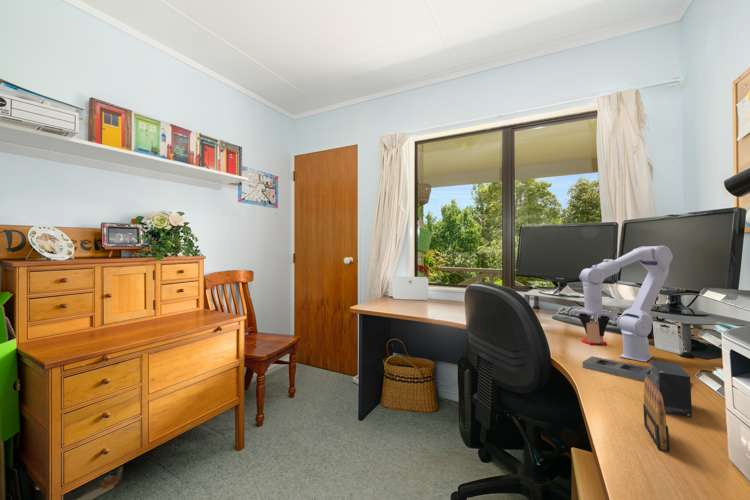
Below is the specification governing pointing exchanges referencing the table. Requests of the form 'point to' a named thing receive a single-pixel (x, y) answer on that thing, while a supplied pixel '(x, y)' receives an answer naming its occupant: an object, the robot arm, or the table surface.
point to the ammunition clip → (655, 416)
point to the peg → (593, 332)
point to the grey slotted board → (617, 368)
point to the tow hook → (594, 342)
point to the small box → (672, 387)
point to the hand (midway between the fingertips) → (595, 334)
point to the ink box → (667, 338)
